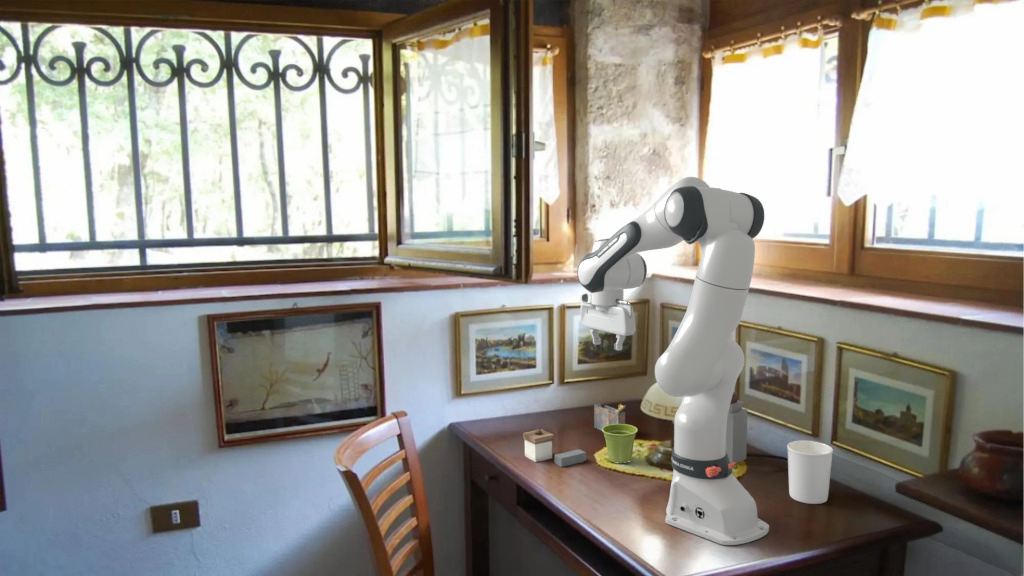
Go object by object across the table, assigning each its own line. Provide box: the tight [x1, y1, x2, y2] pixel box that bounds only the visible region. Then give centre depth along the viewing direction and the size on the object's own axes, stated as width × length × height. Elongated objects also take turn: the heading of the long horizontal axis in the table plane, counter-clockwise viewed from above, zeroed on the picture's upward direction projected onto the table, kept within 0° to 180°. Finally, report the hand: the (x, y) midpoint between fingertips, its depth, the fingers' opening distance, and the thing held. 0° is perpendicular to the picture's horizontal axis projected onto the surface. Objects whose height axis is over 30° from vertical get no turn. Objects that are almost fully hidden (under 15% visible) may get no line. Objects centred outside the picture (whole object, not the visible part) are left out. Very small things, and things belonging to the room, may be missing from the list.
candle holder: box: [786, 439, 834, 505], centre depth 168 cm, size 10×10×12 cm
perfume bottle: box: [726, 391, 748, 464], centre depth 194 cm, size 7×7×18 cm
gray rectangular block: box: [554, 448, 587, 468], centre depth 194 cm, size 3×8×2 cm, turn 121°
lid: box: [522, 428, 555, 445], centre depth 198 cm, size 6×6×3 cm
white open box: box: [524, 439, 553, 463], centre depth 198 cm, size 5×5×5 cm
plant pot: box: [602, 423, 638, 464], centre depth 194 cm, size 9×9×9 cm
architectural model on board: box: [593, 403, 627, 432], centre depth 219 cm, size 11×3×10 cm, turn 32°
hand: (607, 347), depth 201 cm, fingers open, 8 cm apart
